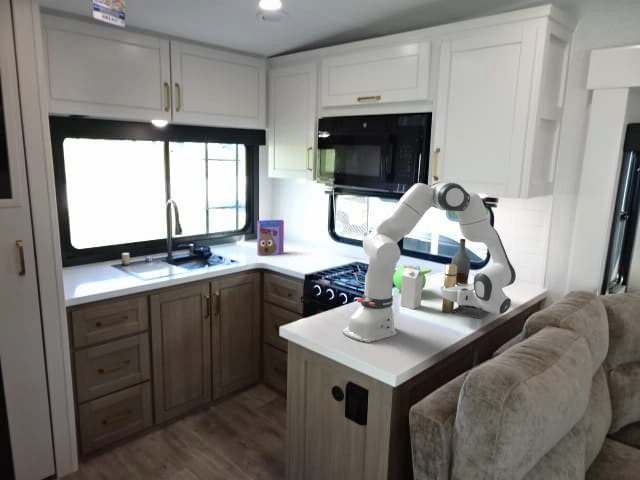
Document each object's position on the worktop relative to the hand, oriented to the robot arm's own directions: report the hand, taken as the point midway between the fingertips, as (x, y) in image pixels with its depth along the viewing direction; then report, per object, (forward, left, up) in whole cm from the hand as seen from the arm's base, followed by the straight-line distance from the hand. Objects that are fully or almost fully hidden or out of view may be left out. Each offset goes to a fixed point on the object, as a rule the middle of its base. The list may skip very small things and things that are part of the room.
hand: (449, 286), depth 199 cm
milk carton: (-6, +16, -12) cm, 21 cm away
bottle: (+23, +7, -12) cm, 27 cm away
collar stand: (+9, -8, -12) cm, 17 cm away
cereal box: (+10, +141, -12) cm, 142 cm away
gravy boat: (+11, +28, -12) cm, 32 cm away
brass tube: (0, 0, -12) cm, 12 cm away
